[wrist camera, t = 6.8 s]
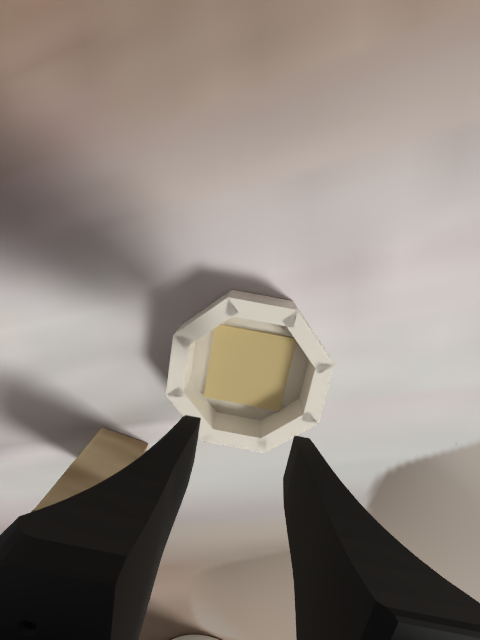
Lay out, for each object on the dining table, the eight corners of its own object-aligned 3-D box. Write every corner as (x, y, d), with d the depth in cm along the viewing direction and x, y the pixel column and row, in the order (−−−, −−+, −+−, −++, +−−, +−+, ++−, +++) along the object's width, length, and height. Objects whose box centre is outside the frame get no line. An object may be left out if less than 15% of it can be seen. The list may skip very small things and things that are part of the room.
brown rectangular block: (135, 480, 23) (74, 602, 15) (90, 465, 23) (6, 579, 15) (148, 443, 22) (90, 552, 15) (101, 426, 22) (18, 527, 14)
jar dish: (302, 436, 21) (307, 461, 19) (171, 411, 21) (160, 433, 19) (336, 308, 19) (347, 319, 17) (188, 281, 19) (178, 288, 17)
